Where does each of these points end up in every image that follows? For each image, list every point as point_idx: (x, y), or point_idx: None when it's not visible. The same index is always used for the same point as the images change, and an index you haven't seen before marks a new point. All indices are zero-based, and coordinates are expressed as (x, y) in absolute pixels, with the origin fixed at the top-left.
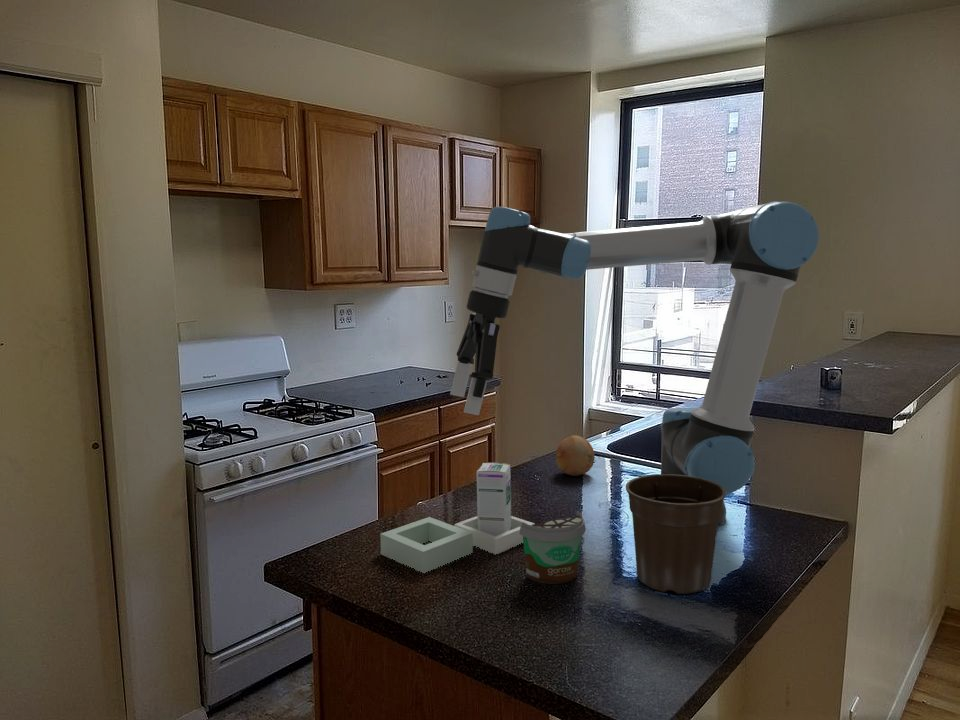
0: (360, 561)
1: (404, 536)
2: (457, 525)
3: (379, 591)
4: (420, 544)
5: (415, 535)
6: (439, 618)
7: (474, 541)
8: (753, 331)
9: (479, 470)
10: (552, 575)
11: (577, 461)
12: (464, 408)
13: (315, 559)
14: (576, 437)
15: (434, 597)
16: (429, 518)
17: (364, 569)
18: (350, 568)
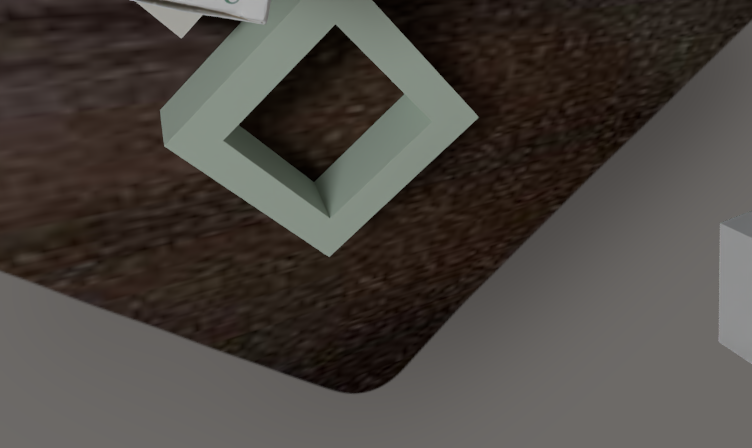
0: (355, 252)
1: (300, 189)
2: (193, 24)
3: (523, 172)
4: (424, 133)
5: (264, 159)
6: (681, 20)
7: None
8: None
9: (253, 7)
10: None
11: None
12: (743, 357)
13: (337, 340)
14: None
15: (584, 42)
16: (181, 142)
17: (403, 231)
18: (394, 261)
